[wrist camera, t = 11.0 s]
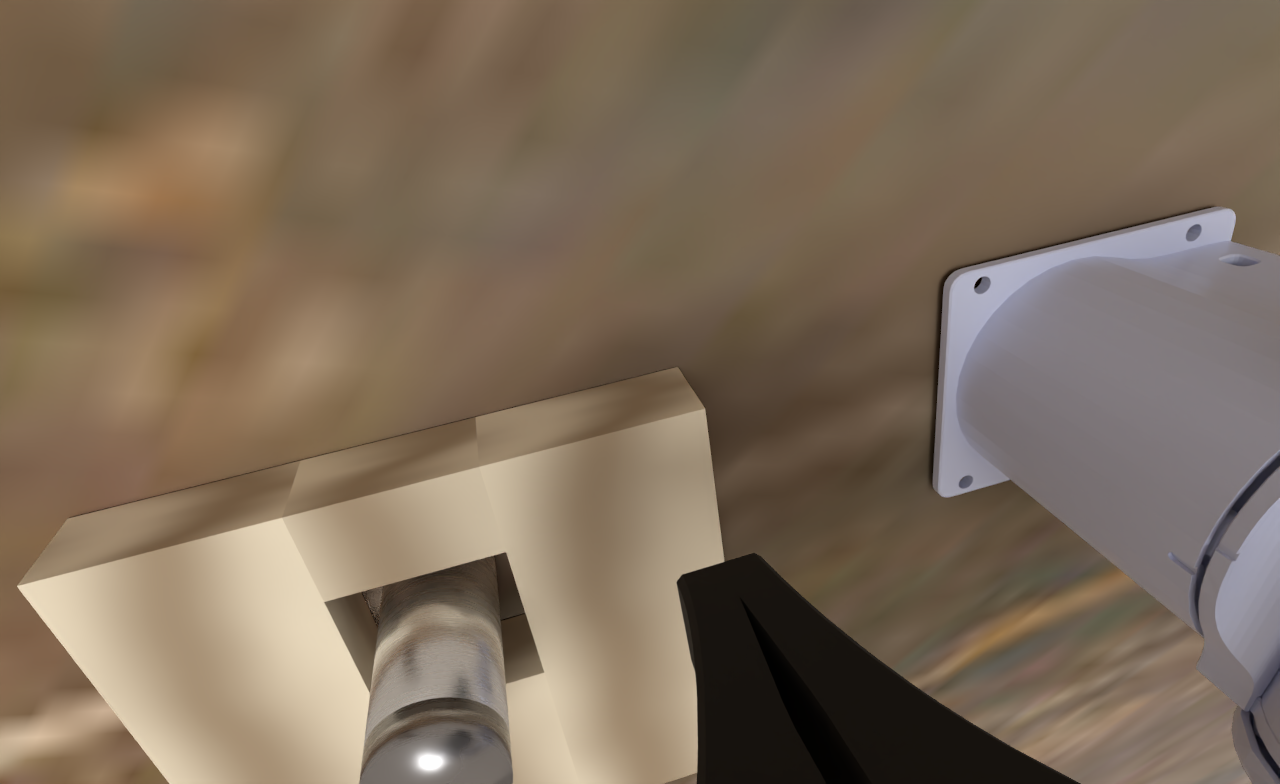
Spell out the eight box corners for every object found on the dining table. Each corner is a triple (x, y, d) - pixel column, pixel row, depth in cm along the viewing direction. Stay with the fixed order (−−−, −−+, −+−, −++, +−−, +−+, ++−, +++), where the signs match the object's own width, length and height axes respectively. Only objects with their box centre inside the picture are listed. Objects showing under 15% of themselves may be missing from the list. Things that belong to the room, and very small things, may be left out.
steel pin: (484, 519, 21) (498, 720, 15) (505, 600, 23) (524, 813, 17) (371, 543, 21) (338, 761, 15) (400, 625, 22) (380, 853, 16)
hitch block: (677, 366, 20) (705, 408, 18) (724, 696, 27) (748, 755, 25) (67, 518, 18) (16, 586, 16) (284, 835, 25) (269, 912, 23)
